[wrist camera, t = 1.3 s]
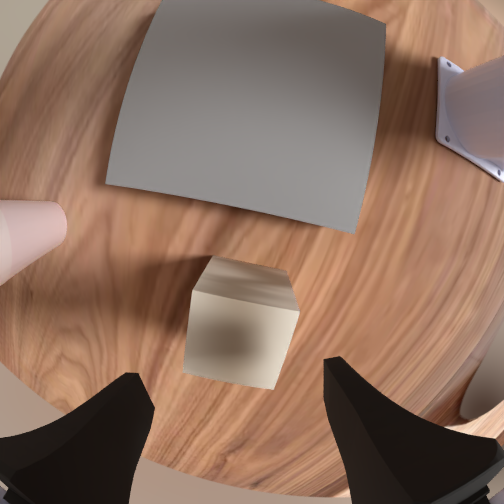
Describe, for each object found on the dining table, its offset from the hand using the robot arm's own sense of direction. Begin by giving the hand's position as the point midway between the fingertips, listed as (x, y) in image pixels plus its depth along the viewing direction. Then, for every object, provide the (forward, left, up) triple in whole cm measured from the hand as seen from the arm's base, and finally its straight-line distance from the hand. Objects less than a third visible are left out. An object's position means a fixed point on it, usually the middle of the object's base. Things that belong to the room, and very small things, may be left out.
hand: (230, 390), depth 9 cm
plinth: (+2, -13, -9) cm, 16 cm away
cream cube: (0, 0, -9) cm, 9 cm away
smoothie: (+16, -2, -9) cm, 19 cm away
